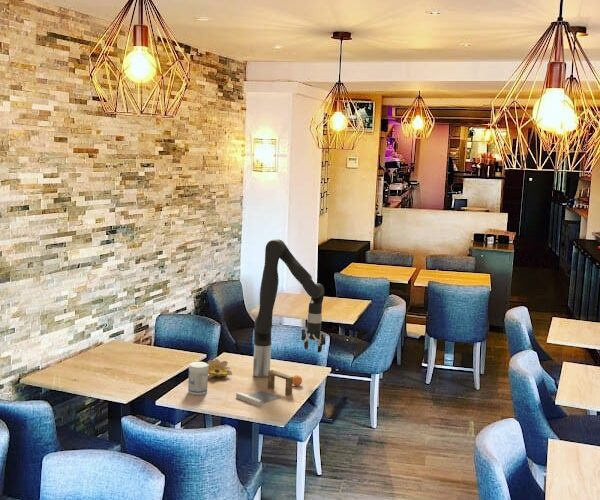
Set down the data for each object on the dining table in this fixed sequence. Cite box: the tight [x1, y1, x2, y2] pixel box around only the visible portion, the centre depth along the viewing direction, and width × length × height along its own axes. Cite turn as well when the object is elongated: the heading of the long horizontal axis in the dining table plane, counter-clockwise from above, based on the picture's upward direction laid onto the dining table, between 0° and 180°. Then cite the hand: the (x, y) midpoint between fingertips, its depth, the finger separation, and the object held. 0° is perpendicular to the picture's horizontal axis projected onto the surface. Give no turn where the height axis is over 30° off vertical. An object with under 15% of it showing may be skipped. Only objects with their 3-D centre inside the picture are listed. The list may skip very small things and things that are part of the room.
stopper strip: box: [235, 391, 263, 407], centre depth 339 cm, size 2×16×2 cm, turn 48°
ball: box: [292, 374, 303, 387], centre depth 364 cm, size 6×6×6 cm
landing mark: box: [248, 390, 281, 405], centre depth 345 cm, size 13×13×1 cm
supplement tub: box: [187, 361, 209, 396], centre depth 347 cm, size 10×10×15 cm
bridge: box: [267, 369, 294, 397], centre depth 354 cm, size 3×14×9 cm, turn 48°
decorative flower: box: [207, 358, 233, 379], centre depth 372 cm, size 15×11×10 cm
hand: (312, 350), depth 370 cm, fingers open, 8 cm apart
